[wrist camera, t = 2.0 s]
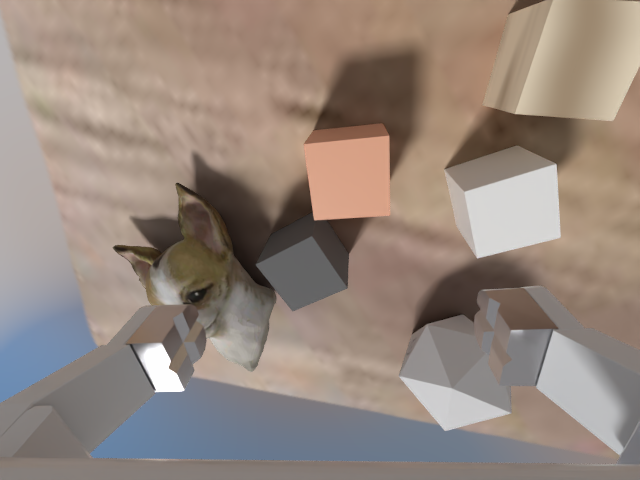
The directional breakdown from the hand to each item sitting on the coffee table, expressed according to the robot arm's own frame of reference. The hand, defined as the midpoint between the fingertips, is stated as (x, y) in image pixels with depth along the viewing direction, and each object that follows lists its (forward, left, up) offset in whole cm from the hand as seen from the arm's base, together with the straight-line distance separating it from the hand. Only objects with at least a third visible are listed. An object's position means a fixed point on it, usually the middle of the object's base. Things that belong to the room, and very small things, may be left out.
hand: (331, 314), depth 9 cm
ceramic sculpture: (+13, +8, -17) cm, 23 cm away
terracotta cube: (0, 0, -17) cm, 17 cm away
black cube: (+4, +7, -17) cm, 19 cm away
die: (-8, +18, -17) cm, 26 cm away
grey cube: (-10, +3, -17) cm, 20 cm away
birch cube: (-12, -5, -17) cm, 21 cm away
